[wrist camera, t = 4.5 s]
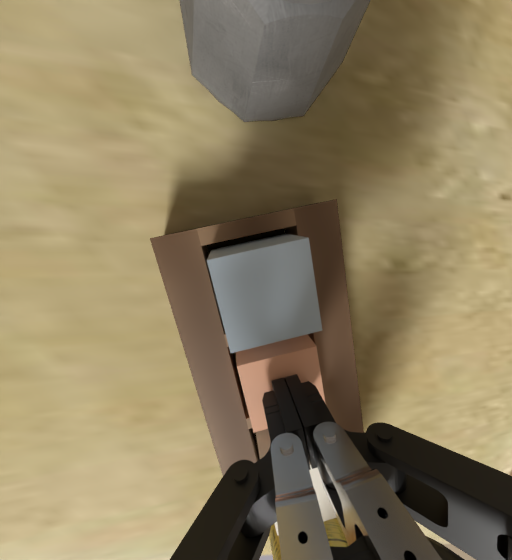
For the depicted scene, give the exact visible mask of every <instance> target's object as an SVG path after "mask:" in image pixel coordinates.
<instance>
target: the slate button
mask: <svg viewBox="0 0 512 560" xmlns="http://www.w3.org/2000/svg"><path fill="white" fill-rule="evenodd" d="M207 263H208V267H209V271H210V275H211V279H212V283H213V287H214V290H215V294H216V298H217V302H218V306H219V310H220V314H221V318H222V322H223V326H224V329H225V333H226V337H227V341H228V345H229V349H230V353H234V352H238V351H242V350H246V349H250V348H254V347H258V346H262V345H266V344H270V343H274V342H278V341H282V340H286V339H290V338H294V337H298V336H302V335H306V334H310V333H314V332H318V331H322V324H321V317H320V311H319V304H318V297H317V290H316V284H315V277H314V270H313V263H312V257H311V250H310V243H309V238H308V237H302V236H297V235H292V234H287V233H286V234H281V235H277V236H272V237H267V238H263V239H258V240H254V241H249V242H244V243H240V244H235V245H231V246H226V247H221V248H217V249H212V250H211V252H210V254H209V256H208V258H207Z"/></svg>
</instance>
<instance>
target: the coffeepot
mask: <svg viewBox="0 0 512 560" xmlns="http://www.w3.org/2000/svg"><path fill="white" fill-rule="evenodd" d="M369 2H370V0H180V6H181V12H182V18H183V24H184V30H185V36H186V42H187V48H188V54H189V60H190V66H191V72H192V75H193V76H194V77H195V78H196V79H197V80H198V81H199V82H200V83H201V84H202V85H203V86H205V87H206V88H207V89H208V90H209V91H210V92H211V94H212V95H213V96H214V97H215V98H216V99H217V100H218V101H219V102H220V103H222V104H223V105H224V106H226V107H227V108H228V109H230V110H231V111H233V112H234V113H235V114H236V115H237V116H238V117H239V118H240V119H241V120H243V121H244V122H249V121H274V120H279V119H284V118H288V117H298V116H304V115H305V113H306V112H307V110H308V109H309V108H310V106H311V105H312V104H313V102H314V101H315V99H316V98H317V97H318V95H319V94H320V92H321V91H322V90H323V88H324V87H325V86H326V84H327V83H328V81H329V80H330V79H331V77H332V76H333V75H334V73H335V72H336V70H337V69H338V68H339V66H340V65H341V63H342V62H343V60H344V57H345V55H346V53H347V51H348V49H349V46H350V44H351V42H352V40H353V38H354V35H355V33H356V31H357V29H358V27H359V24H360V22H361V20H362V18H363V16H364V13H365V11H366V9H367V7H368V5H369Z"/></svg>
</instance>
